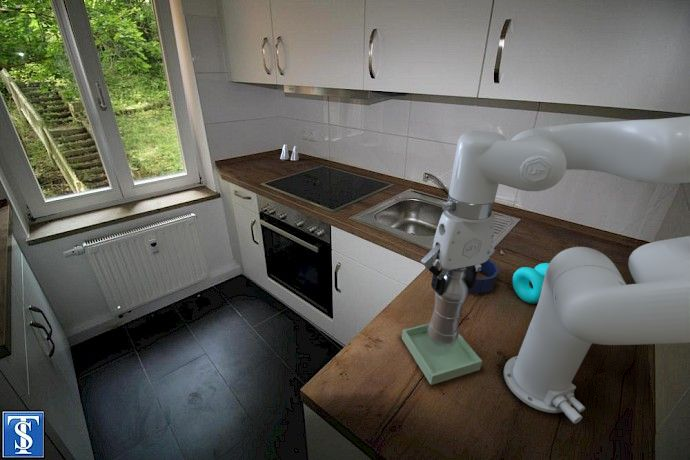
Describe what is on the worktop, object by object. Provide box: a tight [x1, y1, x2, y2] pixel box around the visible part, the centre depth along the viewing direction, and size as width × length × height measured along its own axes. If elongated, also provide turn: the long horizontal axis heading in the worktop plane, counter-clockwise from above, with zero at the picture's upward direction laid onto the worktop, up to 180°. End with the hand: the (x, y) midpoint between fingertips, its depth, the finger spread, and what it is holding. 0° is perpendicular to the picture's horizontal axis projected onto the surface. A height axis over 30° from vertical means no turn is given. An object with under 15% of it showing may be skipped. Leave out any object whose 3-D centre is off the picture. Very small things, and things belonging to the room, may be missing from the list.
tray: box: [401, 322, 483, 386], centre depth 71 cm, size 13×12×3 cm
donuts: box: [512, 262, 550, 304], centre depth 87 cm, size 10×10×10 cm
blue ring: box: [468, 258, 500, 295], centre depth 96 cm, size 15×15×5 cm
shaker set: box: [280, 143, 300, 162], centre depth 211 cm, size 12×4×11 cm, turn 97°
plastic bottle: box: [428, 267, 469, 349], centre depth 65 cm, size 6×7×20 cm
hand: (452, 287), depth 63 cm, fingers closed on plastic bottle, 6 cm apart
